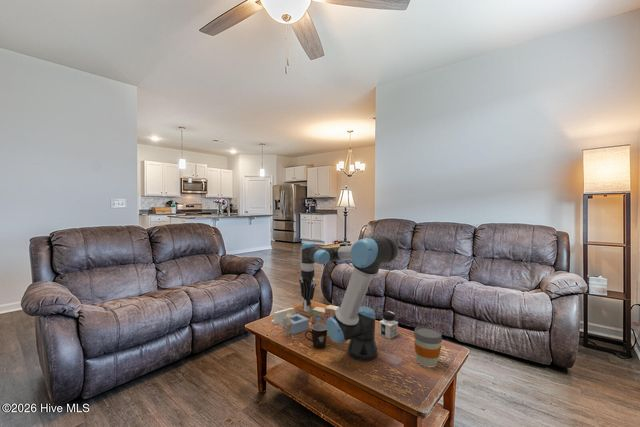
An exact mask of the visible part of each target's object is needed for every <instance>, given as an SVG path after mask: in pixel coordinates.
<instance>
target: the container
mask: <svg viewBox="0 0 640 427" xmlns="http://www.w3.org/2000/svg"><path fill="white" fill-rule="evenodd" d="M395 317H396V315H395V313H394V312H392V311H389V310H388V311H387V310H386V311H384V312H383V313H382V320H379V324H378V325H379V326H378V334H379V335H380V336H383V337H385V338H387V339H389V340H390V339H392V338H395V337H397V336H398V333H399V332H398V330H399V322H398V321H396V320H395V319H396V318H395Z"/></svg>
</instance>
